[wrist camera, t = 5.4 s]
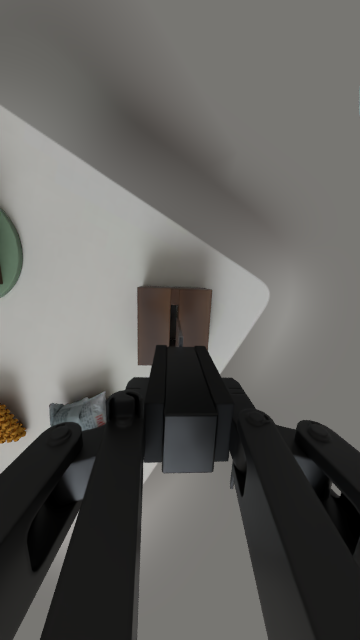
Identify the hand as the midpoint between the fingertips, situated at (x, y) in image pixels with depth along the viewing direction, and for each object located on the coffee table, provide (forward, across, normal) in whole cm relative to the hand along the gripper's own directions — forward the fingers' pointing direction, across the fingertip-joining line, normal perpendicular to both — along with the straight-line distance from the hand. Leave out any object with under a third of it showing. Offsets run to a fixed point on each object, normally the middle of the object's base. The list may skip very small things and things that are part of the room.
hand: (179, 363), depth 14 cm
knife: (+6, 0, 0) cm, 6 cm away
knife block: (+15, 0, 0) cm, 15 cm away
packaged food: (+15, -12, -17) cm, 26 cm away
